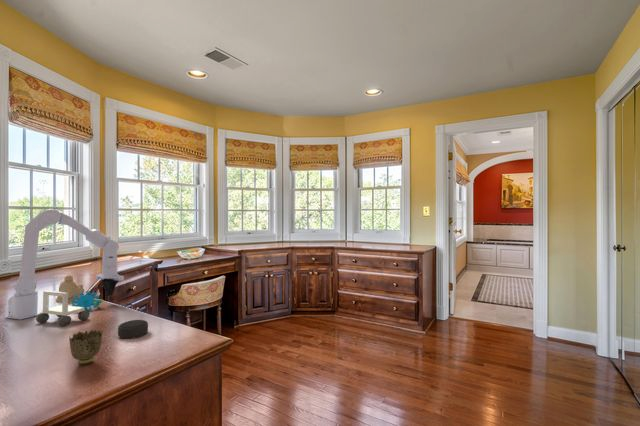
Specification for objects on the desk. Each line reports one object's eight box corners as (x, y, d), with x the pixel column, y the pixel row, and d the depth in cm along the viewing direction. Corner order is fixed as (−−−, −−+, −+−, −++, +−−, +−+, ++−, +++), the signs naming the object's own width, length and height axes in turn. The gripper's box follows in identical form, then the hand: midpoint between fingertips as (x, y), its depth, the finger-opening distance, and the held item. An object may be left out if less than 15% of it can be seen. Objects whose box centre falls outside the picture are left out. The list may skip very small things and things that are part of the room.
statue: (44, 281, 147) (59, 271, 157) (50, 308, 151) (64, 297, 160) (73, 281, 149) (86, 271, 158) (78, 308, 153) (90, 296, 162)
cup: (80, 357, 92) (80, 329, 92) (107, 357, 93) (108, 328, 93) (61, 370, 84) (62, 339, 85) (91, 369, 85) (92, 338, 85)
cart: (35, 323, 121) (36, 292, 121) (65, 315, 131) (65, 286, 131) (61, 327, 117) (61, 294, 117) (89, 318, 127) (90, 288, 127)
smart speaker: (113, 341, 105) (114, 328, 105) (122, 331, 113) (122, 320, 113) (144, 338, 107) (144, 326, 107) (150, 329, 116) (150, 318, 116)
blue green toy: (68, 310, 132) (74, 289, 139) (68, 318, 136) (74, 297, 143) (100, 310, 138) (104, 290, 144) (99, 317, 141) (104, 298, 148)
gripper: (129, 265, 151) (129, 294, 151) (105, 264, 155) (105, 292, 155) (116, 267, 144) (115, 298, 144) (91, 266, 148) (91, 295, 148)
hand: (109, 295), depth 149 cm, fingers closed
